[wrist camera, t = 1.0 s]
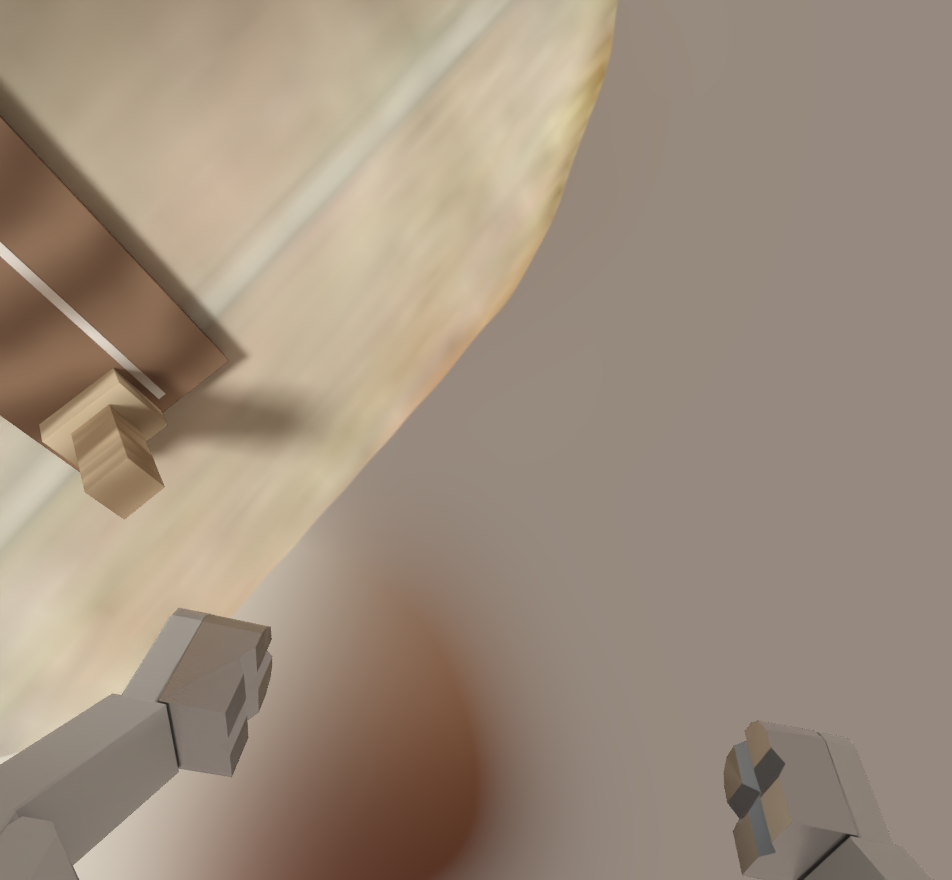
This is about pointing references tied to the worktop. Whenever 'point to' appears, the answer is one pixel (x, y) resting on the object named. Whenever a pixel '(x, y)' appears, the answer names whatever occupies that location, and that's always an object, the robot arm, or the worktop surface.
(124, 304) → the walnut board
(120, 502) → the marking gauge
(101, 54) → the worktop surface
